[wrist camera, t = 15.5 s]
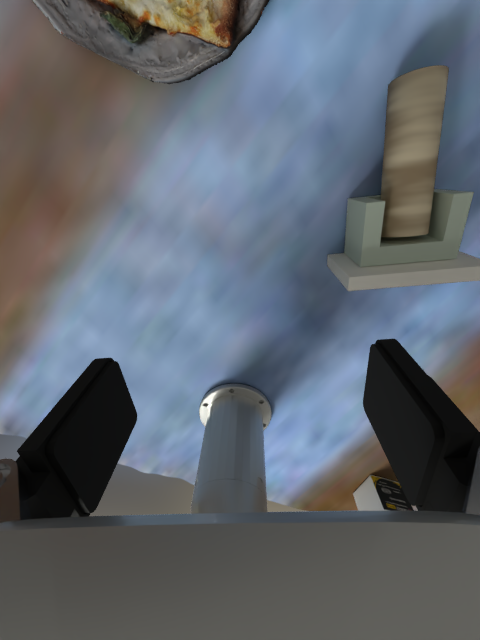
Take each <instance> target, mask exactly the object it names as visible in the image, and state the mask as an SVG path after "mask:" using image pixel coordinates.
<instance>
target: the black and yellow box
mask: <svg viewBox="0 0 480 640" xmlns="http://www.w3.org/2000/svg"><path fill="white" fill-rule="evenodd" d="M353 495H354V498H355V501H356V505H357V508H358V511H414V510H413V508H412V506H411V504H410V503H409V502H408V500H407V498H406V496H405V494H404V492H403V490H402V488H401V485H400V483H399V482H396V481H392V480H388V479H385V478H381V477H378V476H374V475H370V476H369V477H368V478H367V479H366V480H365V481H364V482H363V483H362V484H361V485H360V486H359V487H358V489H357V490H356V491H355V492H354V493H353Z"/></svg>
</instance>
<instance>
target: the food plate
mask: <svg viewBox="0 0 480 640" xmlns="http://www.w3.org/2000/svg"><path fill="white" fill-rule="evenodd" d="M32 2H33V3H34V4H35V5H36V6H37V7H38V8H39V9H40V11H42V12H43V14H44V15H45V16H46V17H47V18H48V20H49V21H50V22H51V23H52V25H53V26H54V28H55V29H56V30H57V31H58V32H59V33H61V34H62V35H63V36H65V35H66V37H68V38H70V39H69V40H71V41H73V42H75V43H77V44H79V45H81V46H83V47H85V48H87V49H89V50H91V51H93V52H95V53H96V54H98V55H100V56H102V57H105V58H106V59H108V60H110V61H113V62H115V63H117V64H119V65H121V66H123V67H125V68H127V69H129V70H131V71H132V72H134V73H136V74H138V75H139V74H140V76H142V77H144V78H146V79H147V77H148V79H149V78H151V80H150V81H152V82H161V83H168V84H172V83H179V82H182V81H185V80H190V79H191V78H193V77H195V76H196V75H198V74H200V73H201V72H203V71H204V70H206V69H208V68H211V67H212V66H214V65H217V63H220V62H221V61H222V62H223V61H224V60H225V59H228V58H229V57H230V56H231V55H232V53H233V51H234V50H235V49H236V48H237V46H238V44H239V43H240V42H241V41H242V40H243V39H244V38H245V37H246V36H247V35H249V34H250V33H251V31H252V30H253V29H254V27H255V25H257V23H258V21H259V20H260V17H261V15H262V11H263V10H264V7H266V5H267V3H268V2H269V0H32ZM61 34H60V35H61ZM68 38H67V39H68Z"/></svg>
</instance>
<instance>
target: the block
mask: <svg viewBox="0 0 480 640" xmlns="http://www.w3.org/2000/svg"><path fill="white" fill-rule="evenodd" d="M473 193H474V192H467V191H455V190H443V189H434V193H433V201H432V209H431V217H430V225H429V233H428V234H426V235H419V236H409V237H381V232H382V224H383V216H384V208H385V201H382V200H381V195H375V196H366V197H357V198H348V204H347V218H346V233H345V247H344V254H346V255H347V256H348V257H349V258H350V259H351V260H353V261H354V262H355V263H356V264H357V265H358V266H360V267H367V266H378V265H389V264H401V263H412V262H424V261H435V260H447V259H457V255H458V251H459V247H460V244H461V240H462V236H463V232H464V228H465V224H466V220H467V216H468V212H469V209H470V205H471V201H472V197H473Z"/></svg>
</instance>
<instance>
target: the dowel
mask: <svg viewBox="0 0 480 640" xmlns="http://www.w3.org/2000/svg"><path fill="white" fill-rule="evenodd" d="M448 72H449V68H448V67H447V66H442V65H437V66H429V67H424V68H420V69H417V70H414V71H411V72H408V73H406V74H404V75H402V76H400V77H398V78H396V79H394V80H393V81H392V82H391V83H390V84H389V85H388V95H387V110H386V125H385V140H384V155H383V170H382V185H381V200H382V201H385V208H384V216H383V224H382V232H381V237H409V236H419V235H426V234H428V233H429V225H430V217H431V209H432V201H433V193H434V185H435V177H436V169H437V160H438V152H439V144H440V136H441V128H442V120H443V112H444V104H445V96H446V88H447V80H448Z"/></svg>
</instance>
